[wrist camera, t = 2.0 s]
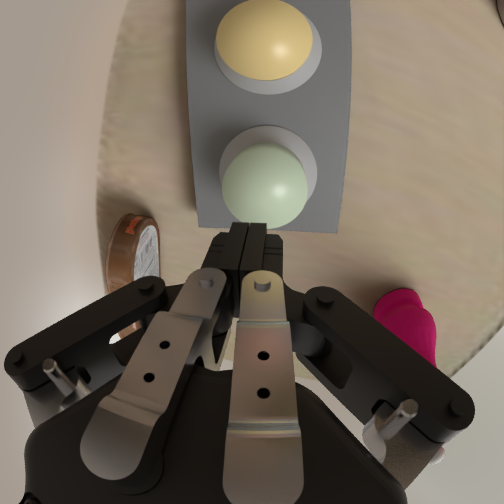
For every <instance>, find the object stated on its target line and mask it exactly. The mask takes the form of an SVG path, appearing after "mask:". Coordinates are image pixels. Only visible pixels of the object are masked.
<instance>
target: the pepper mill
mask: <svg viewBox="0 0 504 504" xmlns="http://www.w3.org/2000/svg"><path fill="white" fill-rule="evenodd" d="M373 315H374V319H375V320H377V321H378V322H379V323H381V324H382V325H383V326H384V327H386V328H387V329H388V330H390V331H391V332H392V333H393V334H395V335H396V336H397V337H398V338H400V339H401V340H402V341H404V342H405V343H406V344H407V345H409V346H410V347H411V348H412V349H414V350H415V351H416V352H417V353H419V354H420V355H421V356H422V357H424V358H425V359H426V360H427V361H429V362H430V363H431V364H432V365H434V366H435V367H436V362H435V346H436V326H435V323H434V320H433V317H432V315H431V314H430V313H429V312H428V311H427V310H426V309H424V308H423V305H422V302H421V300H420V298H419V296H418V294H417V293H416V292H414V291H413V290H410V289H397V290H394V291H391V292H390V293H388V294H386V295H385V296H383V297H382V298H381V299H380V300H379V301H378V303H377V304H376V306H375V308H374V312H373ZM436 368H437V367H436ZM445 444H446V443H445ZM444 455H445V450H444V449H443V448H442V447H441V448H440V449H439V450H438V452H437V453H436V454H435V456H434V457H433V458H432V459H431V461H430V462H429V463H430V464H436V463H439V462H440V461H441V460H442V459H443V457H444Z"/></svg>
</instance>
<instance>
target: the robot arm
mask: <svg viewBox="0 0 504 504" xmlns="http://www.w3.org/2000/svg"><path fill="white" fill-rule="evenodd" d="M497 6H498V10H499V14H500V16H501V19H502V22H503V24H504V0H497ZM282 273H283V240H282V239H281V238H280V236H279V235H277V234H267V223H253V222H250V223H249V222H232V225H231V228H230V231H229V233H227V232H220V233H219V234H218V235H217V236H215V237H214V238H213V240H212V242H211V246H210V247H209V250H208V252H207V254H206V257H205V259H204V262H203V264H202V266H201V269H198V270H196V271H194V272H192V273H191V274H190V275H189V277H188V278H187V280H186V282H185V283H184V284H180V285H173V286H165V282H164V280H163V279H161V278H160V277H157V276H144V277H141V278H139V279H137V280H135V281H133V282H131V283H129V284H127V285H125V286H123V287H121V288H119V289H117V290H116V291H114V292H112V293H110V294H108V295H106V296H104V297H102V298H101V299H99V300H97V301H95V302H93V303H91V304H89V305H88V306H86V307H84V308H82V309H80V310H78V311H77V312H75V313H73V314H71V315H69V316H67V317H66V318H64V319H62V320H60V321H58V322H57V323H55V324H53V325H51V326H50V327H48V328H46V329H44V330H42V331H41V332H39V333H37V334H35V335H34V336H32V337H30V338H28V339H27V340H25V341H23V342H22V343H20V344H18V345H16V346H15V347H13V348H12V349H11V350H10V351H9V352H8V354H7V355H6V358H5V362H4V368H5V371H6V372H7V374H8V375H9V376H10V377H11V378H12V379H13V380H14V381H15V382H16V383H17V385H18V386H19V388H20V389H21V390H22V391H23V393H24V396H25V400H26V403H27V406H28V409H29V413H30V415H31V418H32V421H33V424H34V427H35V429H34V430H33V431H32V433H31V434H30V436H29V438H28V440H27V442H26V446H25V452H24V458H25V471H26V485H25V493H24V497H23V499H22V500H21V502H20V503H19V504H407V497H406V493H405V491H404V490H405V489H406V488H407V487H408V486H409V485H410V484H411V483H412V482H413V481H414V479H415V478H416V477H417V476H418V475H419V474H420V473H421V471H422V470H423V469H424V468H425V467H426V465H427V464H428V463H429V462H430V461H431V459H432V458H433V457H434V456H435V454H436V453H437V452H438V450H439V449H440V448H441V446H442V445H444V444H445V443H447V442H448V441H449V440H451V439H452V438H454V437H455V436H456V435H458V434H459V433H460V432H462V431H463V430H464V429H465V428H467V427H468V426H469V425H470V424H471V422H472V421H473V418H474V414H475V406H474V403H473V400H472V398H471V397H470V395H469V394H468V393H467V392H466V391H464V390H463V389H462V388H460V386H458V385H457V384H456V383H454V382H453V381H452V380H451V379H450V378H449V377H447V376H446V375H445V374H444V373H442V372H441V371H440V370H439V369H437V368H436V367H435V366H434V365H432V364H431V363H430V362H429V361H427V360H426V359H425V358H424V357H422V356H421V355H420V354H419V353H417V352H416V351H415V350H414V349H412V348H411V347H410V346H409V345H407V344H406V343H405V342H404V341H402V340H401V339H400V338H398V337H397V336H396V335H395V334H393V333H392V332H391V331H390V330H388V329H387V328H386V327H384V326H383V325H382V324H381V323H379V322H378V321H377V320H375V319H374V318H373V317H372V316H370V315H369V314H368V313H366V312H365V311H364V310H362V309H361V308H360V307H359V306H357V305H356V304H355V303H353V302H352V301H351V300H349V299H348V298H347V297H346V296H344V295H343V294H342V293H340V292H339V291H337V290H335V289H333V288H330V287H324V286H320V287H315V288H312V289H310V290H308V291H307V292H306V294H304V293H300V292H297V291H294V290H292V289H290V288H289V287H288V286H287V285H286V284H285V283H284V281H283V277H282ZM233 317H235V318H239V321H237V326H236V338H235V350H234V362H233V369H232V370H223V371H219V370H220V367H221V363H222V360H223V357H224V354H225V350H226V347H227V344H228V341H229V337H230V334H231V324H232V319H233ZM137 321H139V323H140V326H141V328H139V329H138V330H136V331H134V332H133V333H131V334H129V335H128V336H126V337H124V338H122V339H121V340H119V341H117V342H116V343H113V344H109V341H110V338H111V337H112V336H113V335H114V334H116V333H118V332H120V331H121V330H123V329H125V328H126V327H128V326H130V325H132V324H133V323H135V322H137ZM292 351H293V352H296V356H297V358H298V359H299V361H300V362H301V363H302V364H303V365H304V366H305V367H306V368H307V369H308V370H309V371H310V372H311V373H312V374H313V375H314V376H315V377H316V378H317V379H318V380H319V381H320V382H321V383H322V384H323V385H324V386H325V387H326V388H327V389H328V390H329V391H330V392H331V393H332V394H333V395H334V396H335V397H336V398H337V399H338V400H339V401H340V402H341V403H342V404H343V405H344V406H345V407H346V408H347V409H348V410H349V411H350V412H351V413H352V414H353V415H354V416H355V417H356V418H357V419H358V420H359V421H360V422H362V423H363V424H364V425H365V426H364V428H363V434H362V436H363V441H364V443H365V445H366V446H367V447H368V449H369V450H370V452H371V453H370V452H369V451H368V450H367V449H366V448H365V447H364V446H363V445H362V443H360V441H359V440H358V439H357V438H356V437H355V436H354V435H353V434H352V433H351V432H350V431H349V430H348V429H347V428H346V426H345V425H344V424H343V423H342V422H341V421H340V420H339V419H338V418H337V417H336V416H335V415H334V413H333V412H332V411H331V410H330V409H329V408H328V407H327V406H326V405H325V404H324V402H323V401H322V400H321V399H320V398H319V397H318V396H317V395H316V394H315V393H313V392H312V391H311V390H309V389H308V388H306V387H304V386H303V385H301V384H298V383H296V382H295V375H294V364H293V352H292Z"/></svg>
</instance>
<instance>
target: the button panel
mask: <svg viewBox="0 0 504 504" xmlns="http://www.w3.org/2000/svg"><path fill="white" fill-rule="evenodd" d="M245 1H249V0H186V65H187V90H188V110H189V126H190V140H191V153H192V165H193V176H194V186H195V196H196V206H197V215H198V224H199V227H206V228H231V225H232V222H241V221H239V220H238V219H237V218H236V217H235V216H234V215H233V214H232V213H231V212H230V211H229V209H228V208H227V206H226V204H225V201H224V199H223V194H222V182H223V177H224V174H225V172H226V170H227V168H228V167H229V165H230V164H231V162H232V161H233V160H234V158H235V157H236V156H237V154H238V153H239V152H240V151H242V150H243V149H244V148H246V147H248V146H250V145H252V144H255V143H260V142H272V143H277V144H280V145H282V146H284V147H286V148H288V149H289V150H291V151H292V152H293V153H294V154H295V155H296V156H297V157H298V158H299V160H300V161H301V163H302V165H303V168H304V171H305V176H306V180H307V186H308V195H307V200H306V203H305V205H304V208H303V209H302V211H301V212H300V214H299V215H298V216H297V217H296V218H295V219H294V220H292V221H291V222H289V223H288V224H286V225H283V226H281V227H277V228H272V229H267V230H282V231H302V232H320V233H337V230H338V223H339V216H340V209H341V201H342V193H343V185H344V176H345V167H346V157H347V146H348V133H349V118H350V99H351V61H352V47H351V11H350V0H280V1H283V2H285V3H288V4H290V5H291V6H293V7H295V8H296V9H297V10H299V11H300V12H301V13H302V14H303V16H304V17H305V18H306V20H307V21H308V23H309V25H310V27H311V31H312V37H313V42H312V48H311V51H310V54H309V56H308V57H307V59H306V61H305V62H304V63H303V65H302V66H301V67H300V68H299V69H298V70H297V71H296V72H294V73H293V74H291V75H290V76H288V77H285V78H283V79H279V80H274V81H260V80H255V79H252V78H249V77H246V76H243V75H241V74H239V73H237V72H235V71H234V70H233V69H231V68H230V67H229V66H228V65H227V64H226V63H225V62H224V61H223V59H222V58H221V56H220V54H219V51H218V48H217V44H216V34H217V29H218V27H219V24H220V22H221V20H222V19H223V17H224V16H225V15H226V14H227V13H228V12H229V11H230V10H231V9H232V8H234V7H235V6H237V5H239V4H241V3H243V2H245Z"/></svg>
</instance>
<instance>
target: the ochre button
mask: <svg viewBox="0 0 504 504" xmlns="http://www.w3.org/2000/svg"><path fill="white" fill-rule="evenodd" d="M312 42H313V37H312V31H311V27H310V25H309V23H308V21H307V20H306V18H305V17H304V16H303V14H302V13H301V12H300V11H299V10H297V9H296V8H295V7H293V6H291V5H290V4H288V3H285V2H283V1H280V0H249V1H245V2H243V3H241V4H239V5H237V6H235V7H234V8H232V9H231V10H230V11H229V12H228V13H227V14H226V15H225V16H224V17H223V19H222V20H221V22H220V24H219V27H218V29H217V34H216V44H217V48H218V51H219V54H220V56H221V58H222V59H223V61H224V62H225V63H226V64H227V65H228V66H229V67H230V68H231V69H233V70H234V71H235V72H237V73H239V74H241V75H243V76H246V77H249V78H252V79H255V80H260V81H274V80H279V79H283V78H285V77H288V76H290V75H291V74H293V73H294V72H296V71H297V70H298V69H299V68H300V67H301V66H302V65H303V63H304V62H305V61H306V59H307V57H308V56H309V54H310V51H311V48H312Z"/></svg>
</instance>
